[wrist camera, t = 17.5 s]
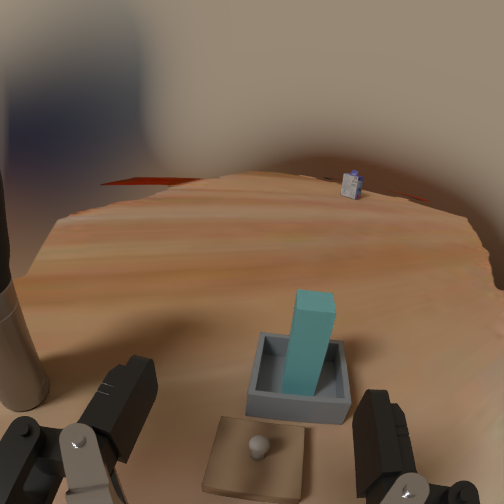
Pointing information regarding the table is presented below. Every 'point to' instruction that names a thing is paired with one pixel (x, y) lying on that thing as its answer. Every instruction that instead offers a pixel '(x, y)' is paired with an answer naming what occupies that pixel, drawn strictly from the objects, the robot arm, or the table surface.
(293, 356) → the teal strut
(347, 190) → the ink cartridge box
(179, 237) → the table surface
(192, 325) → the table surface
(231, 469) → the walnut stud block
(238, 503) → the table surface
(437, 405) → the table surface
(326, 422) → the charcoal bin
